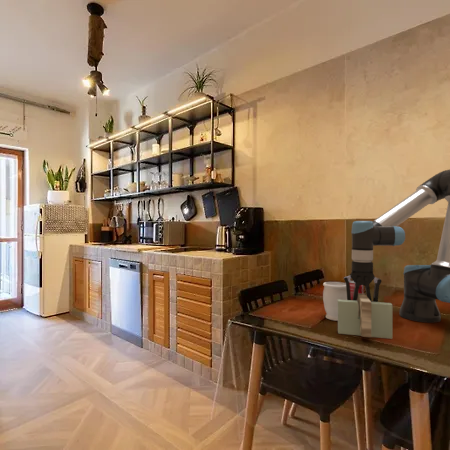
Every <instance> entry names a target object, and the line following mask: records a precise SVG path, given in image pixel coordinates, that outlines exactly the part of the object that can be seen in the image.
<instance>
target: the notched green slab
mask: <svg viewBox="0 0 450 450" xmlns="http://www.w3.org/2000/svg"><path fill="white" fill-rule="evenodd" d="M337 334H340V335H349V336H350V335H351V336H361V333H360V317H358V302H357V301H355V300H340V299H338V321H337ZM361 337H362V336H361ZM370 338H380V339H388V340H389V339H391V340H393V303H391V302H380V301H378V302H371V337H370Z"/></svg>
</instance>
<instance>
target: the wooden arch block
mask: <svg viewBox="0 0 450 450" xmlns="http://www.w3.org/2000/svg"><path fill="white" fill-rule="evenodd" d="M357 302H358V317H360V333H361V337H364V338H372V337H371V301H370V300H369V298H368V297H367V295H366V293H364V294H360V293H358V296H357Z"/></svg>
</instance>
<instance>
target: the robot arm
mask: <svg viewBox="0 0 450 450" xmlns="http://www.w3.org/2000/svg"><path fill="white" fill-rule="evenodd" d="M444 199H445V200H446V202H447V207H446V208H447V209H446V211H445V212H446V213H445V217H444V222H443V226H442V227H443V228H442V232H441V236H440V237H441V238H440V242H439V246H438V251H437V257H436V260H435V261H433V262H432V263H430V264H407V265H405V266H404V267H403V299H402V303H401V305H400V308H399V316H400V317H401V318H403V319H405V320H409V321H414V322H421V323H430V324H431V323H433V324H434V323H439V322H441V320H442V319H441V317H442V314H441V312H440V310H439V307H438V305H437V302H436V300H438V301H440V302H442V303H449V304H450V169H447V170H442V171H440V172H438V173H437V174H435V175H433V176H432V177H430V178H428V179H427V180H425V181H424V182H423V183H422V184H420V185H418V186H417V187H416V189H415V191H414V192H412V193H411V194H410V195H408V196H407V197H406V198H404V199H402V200H401V201H399V202H398V203H397V204H396V205H394V206H393V207H391V208H389V209H388V210H386V212H384V213H383V214H381V215H380V216H378V217H377V218H375V219H374V220H373V221H372V220H356V221H353V222H352V224H351V232H350V233H351V260H352V261H351V273H350V275H348V276H344V277H343V280H344V283H346V291H347V300H351V294H350V284H349V282H350V281H351V280H352V281H354V282H355V288H354V294H353V300H355V301H357V296H358V291H359V286H360V285H363V286H364V290H365V294H366V295H367V297H368V298H369V300H370V301H371V302H379V292H380V285H381V283H382V281H383V280H382V279H381V278H379V277H376V276H375V275H374V262H373V260H374V246H382V247H383V246H389V247H391V246H392V247H395V246H401V245H403V244H404V242H405V241H406V231H405V230H404V229H403V228H402V227H400V226H399V225H401V224H403V223H404V222H405V221H406V220H408V219H409V218H411V217H412V216H414V215H415V214H417V213H418V212H420V211H421V210H423V209H424V208H425V207H427V206H428V205H435V203H437V202H439V201H441V200H444ZM372 282H374V289H373V298H372V294H371V289H370V285H371V283H372Z"/></svg>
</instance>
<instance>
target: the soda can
mask: <svg viewBox="0 0 450 450" xmlns="http://www.w3.org/2000/svg"><path fill="white" fill-rule="evenodd" d="M349 284H350V294H351V300H353V294H354V288H355V282H354V281H353V280H350V282H349ZM364 290H365V286H364V285H360V286H359V291H358V293H360V294H365V291H364Z"/></svg>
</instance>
